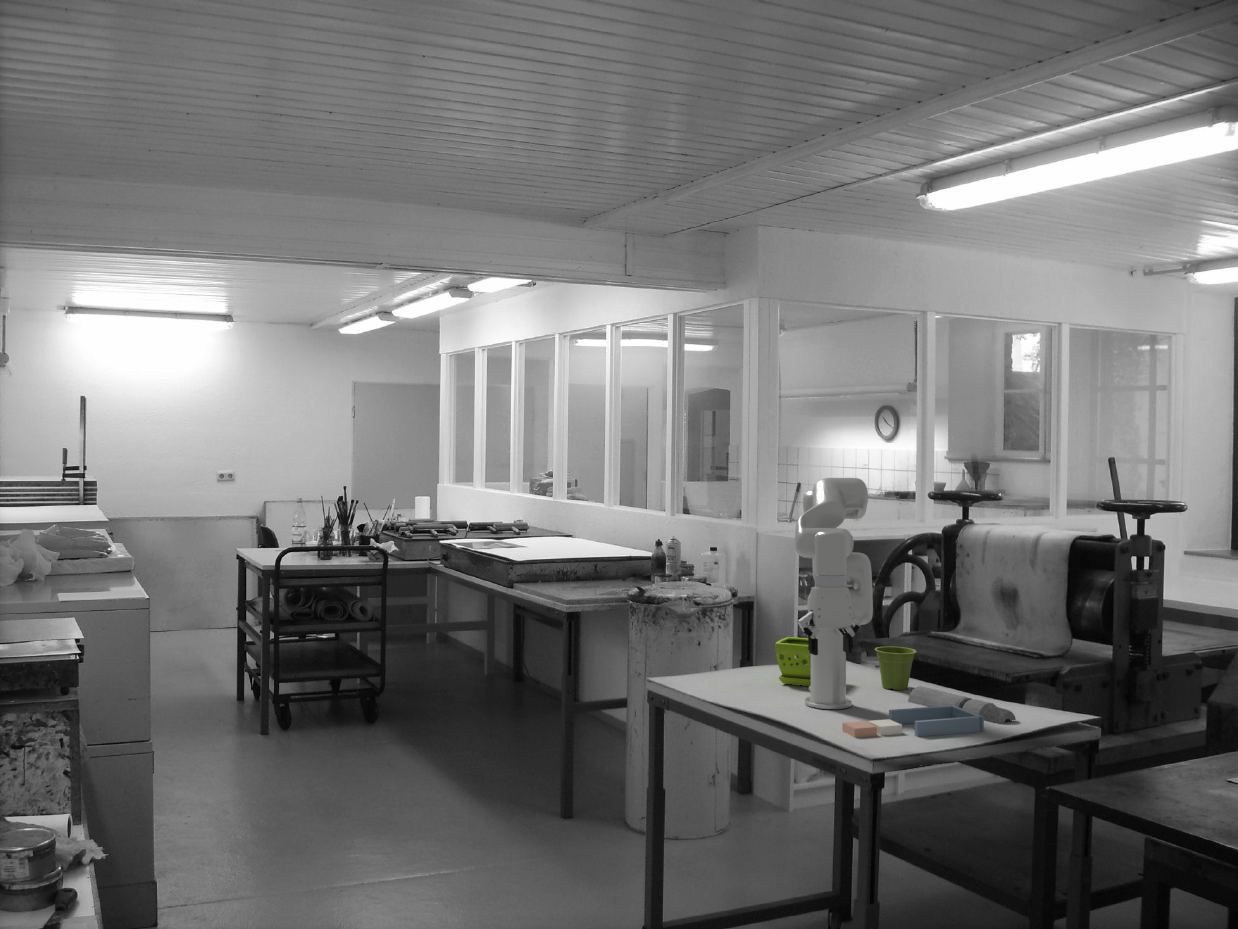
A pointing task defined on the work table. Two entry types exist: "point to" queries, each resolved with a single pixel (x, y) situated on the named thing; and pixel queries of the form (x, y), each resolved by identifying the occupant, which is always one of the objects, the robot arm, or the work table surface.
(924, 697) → the mechanical component
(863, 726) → the terracotta tile
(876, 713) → the work table surface
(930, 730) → the box
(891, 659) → the plant pot
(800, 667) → the flower pot
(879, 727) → the cream tile
